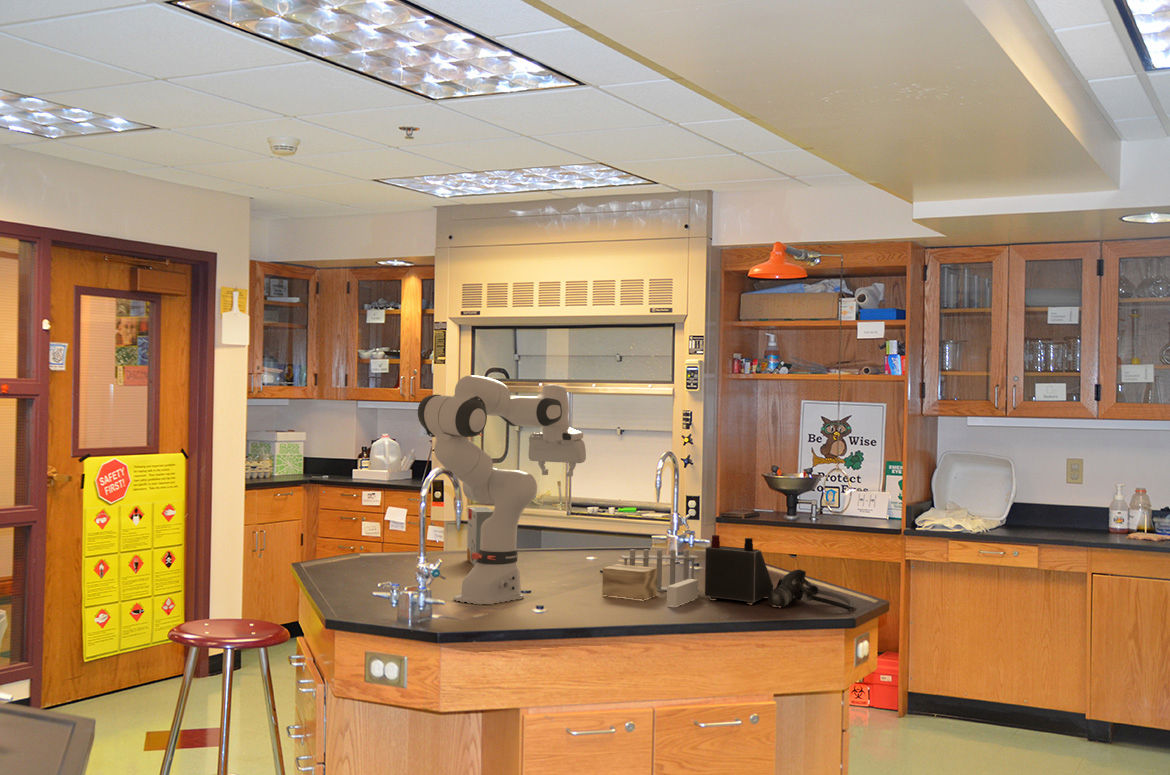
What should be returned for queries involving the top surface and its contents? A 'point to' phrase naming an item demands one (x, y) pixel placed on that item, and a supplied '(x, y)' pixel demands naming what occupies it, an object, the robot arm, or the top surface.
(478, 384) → the robot arm
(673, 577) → the test tube rack
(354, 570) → the top surface
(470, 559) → the hard drive box
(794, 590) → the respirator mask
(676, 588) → the board
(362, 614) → the top surface
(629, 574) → the oak block
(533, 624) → the top surface
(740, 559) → the voltmeter
